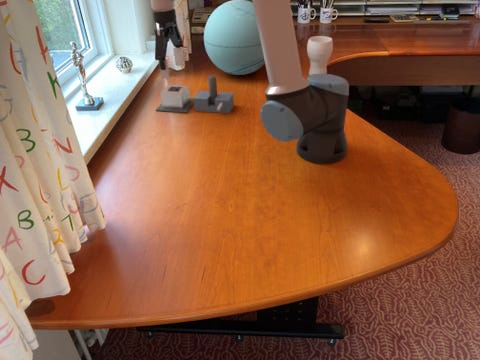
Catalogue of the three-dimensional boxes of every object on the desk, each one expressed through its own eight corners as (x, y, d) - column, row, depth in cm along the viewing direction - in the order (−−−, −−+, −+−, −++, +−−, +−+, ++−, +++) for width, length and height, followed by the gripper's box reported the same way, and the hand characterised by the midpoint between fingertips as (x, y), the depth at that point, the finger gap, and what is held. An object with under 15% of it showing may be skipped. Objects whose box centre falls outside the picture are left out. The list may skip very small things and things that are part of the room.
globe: (263, 88, 164) (263, 10, 146) (196, 81, 172) (188, 7, 155) (281, 64, 187) (283, -6, 169) (221, 59, 195) (216, -8, 178)
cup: (330, 79, 169) (333, 43, 160) (304, 78, 171) (306, 42, 162) (330, 70, 177) (333, 35, 169) (306, 69, 179) (308, 35, 171)
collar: (183, 109, 149) (181, 94, 145) (162, 107, 150) (160, 92, 147) (190, 100, 155) (188, 85, 151) (170, 99, 157) (168, 84, 153)
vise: (226, 118, 142) (224, 86, 135) (190, 116, 145) (187, 84, 138) (233, 105, 151) (232, 74, 144) (200, 103, 154) (197, 72, 147)
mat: (186, 113, 147) (186, 111, 147) (155, 111, 149) (155, 109, 149) (196, 100, 156) (196, 98, 156) (167, 98, 159) (167, 96, 159)
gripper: (159, 17, 122) (169, 84, 134) (186, 1, 142) (193, 60, 154) (136, 17, 124) (149, 83, 136) (167, 1, 144) (175, 60, 156)
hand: (173, 71), depth 145 cm, fingers open, 13 cm apart
